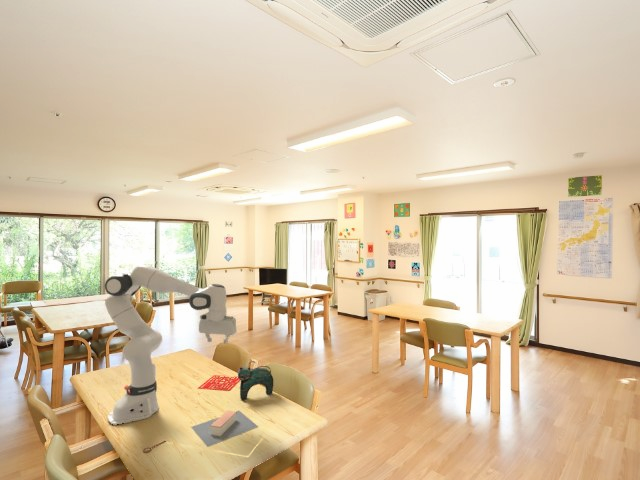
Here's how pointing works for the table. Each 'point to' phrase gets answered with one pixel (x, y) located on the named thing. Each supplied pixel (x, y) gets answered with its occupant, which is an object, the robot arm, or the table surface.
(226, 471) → the table surface
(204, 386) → the maze puzzle
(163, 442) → the key
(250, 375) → the ceramic cat
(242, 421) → the mat
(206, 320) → the robot arm
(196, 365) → the table surface
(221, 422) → the block
